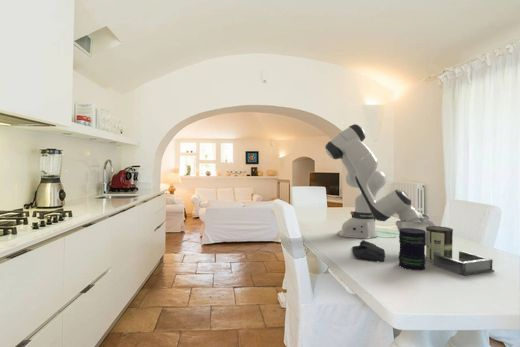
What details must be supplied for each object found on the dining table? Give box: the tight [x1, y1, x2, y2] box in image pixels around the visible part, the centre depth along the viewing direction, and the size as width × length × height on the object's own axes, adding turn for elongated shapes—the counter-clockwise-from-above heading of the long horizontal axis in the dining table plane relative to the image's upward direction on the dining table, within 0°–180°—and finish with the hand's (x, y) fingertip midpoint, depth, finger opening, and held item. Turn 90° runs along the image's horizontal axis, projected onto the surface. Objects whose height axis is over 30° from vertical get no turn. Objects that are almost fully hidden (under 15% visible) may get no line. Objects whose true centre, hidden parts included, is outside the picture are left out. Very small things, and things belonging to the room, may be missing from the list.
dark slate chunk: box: [351, 239, 386, 263], centre depth 144 cm, size 15×22×5 cm
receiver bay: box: [432, 250, 495, 277], centre depth 125 cm, size 14×16×4 cm
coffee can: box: [425, 225, 454, 263], centre depth 136 cm, size 10×10×14 cm
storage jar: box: [398, 228, 426, 271], centre depth 126 cm, size 10×10×15 cm
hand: (427, 244), depth 141 cm, fingers closed, pressing on coffee can
